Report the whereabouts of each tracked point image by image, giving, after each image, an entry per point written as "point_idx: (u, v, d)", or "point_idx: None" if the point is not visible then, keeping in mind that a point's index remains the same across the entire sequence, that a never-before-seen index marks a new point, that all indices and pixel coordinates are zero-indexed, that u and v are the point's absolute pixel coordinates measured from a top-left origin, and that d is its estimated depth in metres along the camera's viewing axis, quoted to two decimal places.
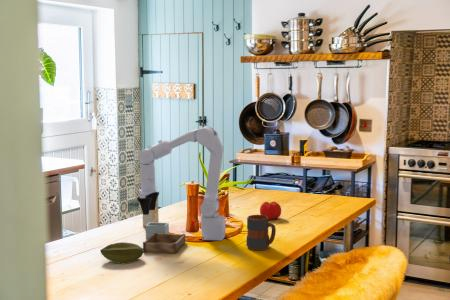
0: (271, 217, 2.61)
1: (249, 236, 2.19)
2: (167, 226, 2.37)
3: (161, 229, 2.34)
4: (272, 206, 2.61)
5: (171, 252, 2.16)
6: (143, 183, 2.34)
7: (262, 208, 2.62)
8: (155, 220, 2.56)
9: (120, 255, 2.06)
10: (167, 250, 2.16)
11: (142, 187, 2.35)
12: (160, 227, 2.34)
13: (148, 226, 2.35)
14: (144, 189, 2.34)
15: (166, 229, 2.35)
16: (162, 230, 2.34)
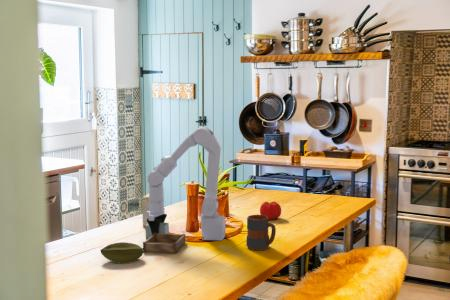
0: (271, 217, 2.61)
1: (249, 236, 2.19)
2: (167, 226, 2.37)
3: (161, 229, 2.34)
4: (272, 206, 2.61)
5: (171, 252, 2.16)
6: (152, 205, 2.33)
7: (262, 208, 2.62)
8: None
9: (120, 255, 2.06)
10: (167, 250, 2.16)
11: (151, 209, 2.34)
12: (160, 227, 2.34)
13: (148, 226, 2.35)
14: (153, 211, 2.33)
15: (166, 229, 2.35)
16: (162, 230, 2.34)
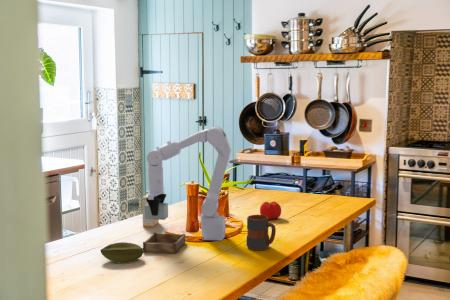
0: (271, 217, 2.61)
1: (249, 236, 2.19)
2: (166, 206, 2.35)
3: (160, 209, 2.33)
4: (272, 206, 2.61)
5: (171, 252, 2.16)
6: (151, 184, 2.32)
7: (262, 208, 2.62)
8: (155, 220, 2.56)
9: (120, 255, 2.06)
10: (167, 250, 2.16)
11: (150, 188, 2.32)
12: (159, 207, 2.33)
13: (147, 206, 2.33)
14: (152, 190, 2.32)
15: (165, 209, 2.34)
16: (161, 210, 2.33)
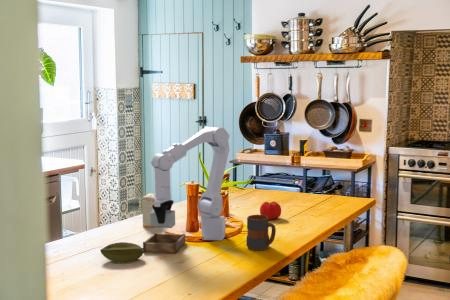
0: (271, 217, 2.61)
1: (249, 236, 2.19)
2: (173, 214, 2.22)
3: (167, 217, 2.19)
4: (272, 206, 2.61)
5: (171, 252, 2.16)
6: (158, 191, 2.18)
7: (262, 208, 2.62)
8: None
9: (120, 255, 2.06)
10: (167, 250, 2.16)
11: (156, 195, 2.19)
12: (166, 215, 2.19)
13: (153, 213, 2.20)
14: (159, 197, 2.19)
15: (172, 217, 2.20)
16: (168, 218, 2.19)
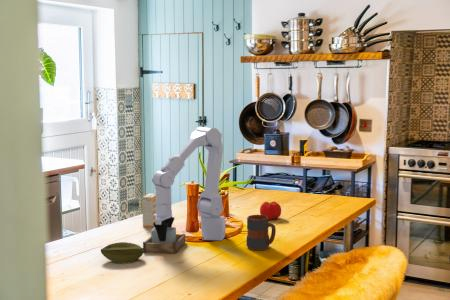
0: (271, 217, 2.61)
1: (249, 236, 2.19)
2: (174, 231, 2.22)
3: (168, 234, 2.19)
4: (272, 206, 2.61)
5: (171, 252, 2.16)
6: (159, 208, 2.18)
7: (262, 208, 2.62)
8: (155, 220, 2.56)
9: (120, 255, 2.06)
10: (167, 250, 2.16)
11: (157, 212, 2.19)
12: (167, 232, 2.19)
13: (154, 231, 2.20)
14: (160, 214, 2.19)
15: (173, 234, 2.21)
16: (169, 235, 2.19)
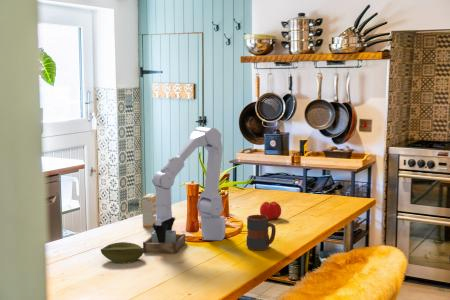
0: (271, 217, 2.61)
1: (249, 236, 2.19)
2: (174, 234, 2.22)
3: (168, 237, 2.20)
4: (272, 206, 2.61)
5: (171, 252, 2.16)
6: (159, 209, 2.19)
7: (262, 208, 2.62)
8: (155, 220, 2.56)
9: (120, 255, 2.06)
10: (167, 250, 2.16)
11: (158, 213, 2.19)
12: (167, 235, 2.19)
13: (154, 234, 2.20)
14: (160, 215, 2.19)
15: (173, 237, 2.21)
16: (169, 238, 2.19)
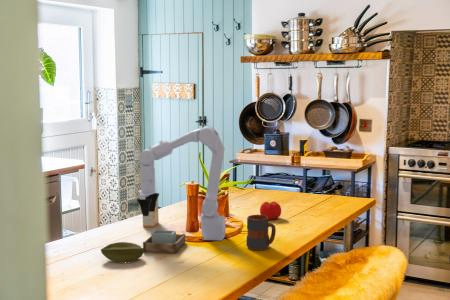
0: (271, 217, 2.61)
1: (249, 236, 2.19)
2: (174, 234, 2.22)
3: (168, 237, 2.20)
4: (272, 206, 2.61)
5: (171, 252, 2.16)
6: (143, 184, 2.31)
7: (262, 208, 2.62)
8: (155, 220, 2.56)
9: (120, 255, 2.06)
10: (167, 250, 2.16)
11: (142, 188, 2.32)
12: (167, 235, 2.19)
13: (154, 234, 2.20)
14: (144, 190, 2.31)
15: (173, 237, 2.21)
16: (169, 238, 2.19)
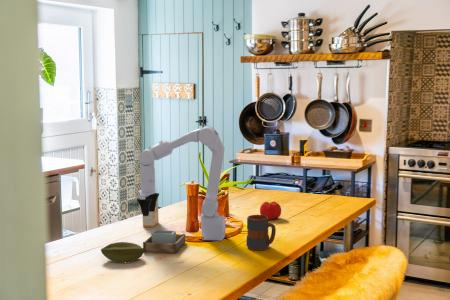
0: (271, 217, 2.61)
1: (249, 236, 2.19)
2: (174, 234, 2.22)
3: (168, 237, 2.20)
4: (272, 206, 2.61)
5: (171, 252, 2.16)
6: (143, 184, 2.31)
7: (262, 208, 2.62)
8: (155, 220, 2.56)
9: (120, 255, 2.06)
10: (167, 250, 2.16)
11: (142, 188, 2.32)
12: (167, 235, 2.19)
13: (154, 234, 2.20)
14: (144, 190, 2.32)
15: (173, 237, 2.21)
16: (169, 238, 2.19)
